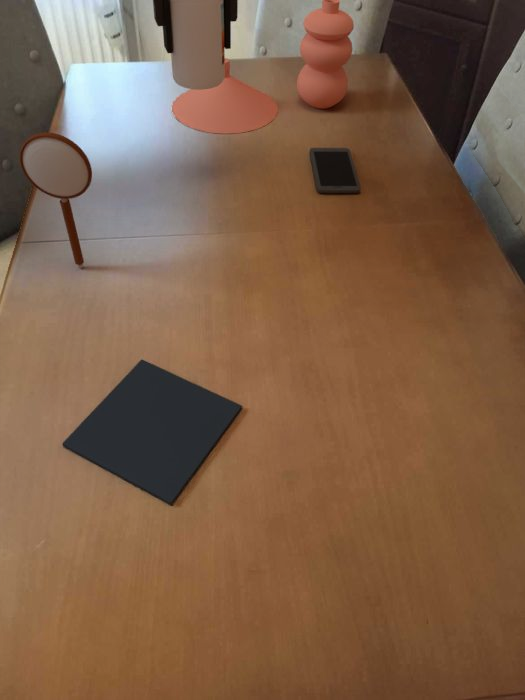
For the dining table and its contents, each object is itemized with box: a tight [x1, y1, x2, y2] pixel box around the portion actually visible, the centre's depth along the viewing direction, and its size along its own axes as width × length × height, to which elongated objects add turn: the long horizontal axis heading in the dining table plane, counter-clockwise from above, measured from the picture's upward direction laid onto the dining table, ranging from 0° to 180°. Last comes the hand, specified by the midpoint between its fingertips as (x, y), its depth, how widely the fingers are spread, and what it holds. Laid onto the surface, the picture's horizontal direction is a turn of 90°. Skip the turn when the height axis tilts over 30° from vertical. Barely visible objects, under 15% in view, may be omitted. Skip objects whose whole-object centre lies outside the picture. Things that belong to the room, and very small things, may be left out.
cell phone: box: [308, 147, 362, 194], centre depth 103 cm, size 7×14×1 cm, turn 3°
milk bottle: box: [169, 0, 226, 90], centre depth 82 cm, size 8×8×20 cm
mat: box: [61, 359, 243, 507], centre depth 66 cm, size 14×14×1 cm
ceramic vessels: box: [171, 0, 355, 135], centre depth 112 cm, size 35×21×19 cm, turn 100°
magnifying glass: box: [19, 132, 93, 269], centre depth 77 cm, size 9×2×20 cm, turn 85°
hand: (197, 47), depth 86 cm, fingers closed on milk bottle, 8 cm apart
